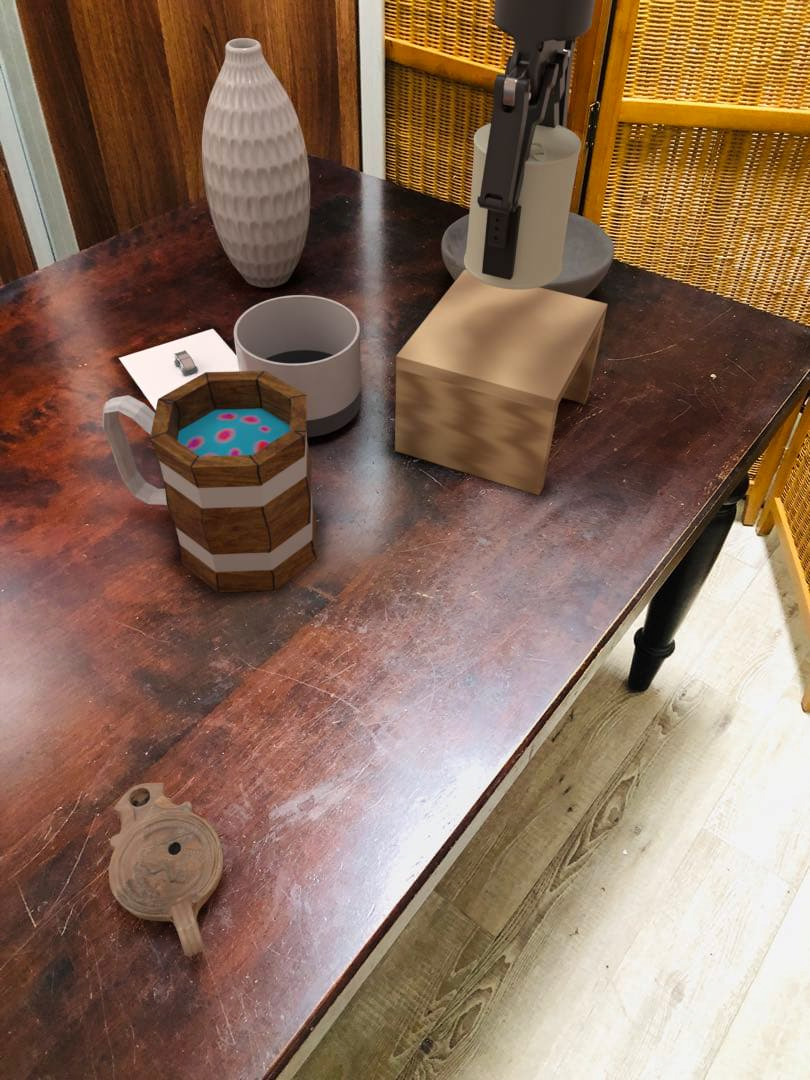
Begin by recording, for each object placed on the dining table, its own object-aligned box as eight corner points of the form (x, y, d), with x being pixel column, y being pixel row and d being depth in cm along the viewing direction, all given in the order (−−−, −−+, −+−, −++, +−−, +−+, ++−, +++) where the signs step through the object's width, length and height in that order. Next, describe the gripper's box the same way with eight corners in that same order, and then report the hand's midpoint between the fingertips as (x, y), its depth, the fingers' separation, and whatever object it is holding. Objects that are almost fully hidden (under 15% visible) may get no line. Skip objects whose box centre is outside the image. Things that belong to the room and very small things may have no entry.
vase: (246, 245, 122) (218, 19, 102) (330, 262, 120) (319, 33, 99) (201, 290, 114) (161, 53, 94) (291, 309, 111) (270, 70, 91)
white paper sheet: (157, 412, 97) (154, 401, 96) (118, 358, 103) (115, 347, 102) (256, 378, 101) (254, 368, 100) (213, 328, 108) (211, 318, 107)
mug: (343, 510, 87) (337, 386, 76) (287, 611, 78) (271, 487, 67) (165, 465, 91) (135, 341, 80) (93, 556, 82) (48, 431, 71)
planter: (382, 424, 96) (382, 342, 88) (275, 462, 91) (265, 379, 84) (328, 363, 103) (324, 283, 96) (226, 396, 99) (214, 314, 91)
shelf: (588, 396, 100) (607, 303, 91) (539, 495, 89) (556, 400, 80) (457, 361, 104) (464, 269, 96) (394, 451, 93) (396, 355, 84)
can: (478, 294, 79) (490, 160, 70) (453, 244, 85) (461, 116, 76) (575, 285, 80) (599, 153, 72) (544, 236, 87) (562, 109, 78)
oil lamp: (99, 820, 64) (82, 787, 60) (199, 781, 66) (189, 747, 63) (142, 997, 56) (125, 971, 52) (254, 946, 58) (246, 917, 55)
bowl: (474, 354, 105) (480, 295, 100) (416, 269, 119) (418, 212, 113) (631, 325, 110) (645, 267, 105) (558, 246, 124) (567, 191, 118)
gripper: (544, -69, 73) (514, 195, 90) (446, 1, 59) (432, 297, 76) (633, -58, 71) (586, 210, 88) (553, 17, 57) (514, 318, 74)
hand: (515, 250), depth 82 cm, fingers closed on can, 9 cm apart
